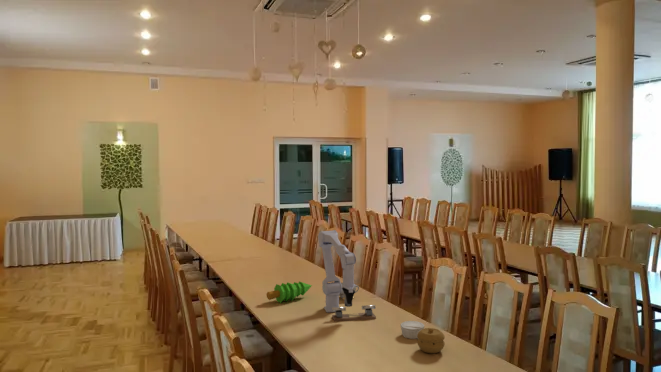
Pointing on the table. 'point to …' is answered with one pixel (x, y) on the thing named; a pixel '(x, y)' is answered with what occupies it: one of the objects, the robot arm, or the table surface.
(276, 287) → the decorative tree
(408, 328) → the ramekin
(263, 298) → the table surface
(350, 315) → the shaft board
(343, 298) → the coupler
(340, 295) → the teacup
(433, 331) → the pot
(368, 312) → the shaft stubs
